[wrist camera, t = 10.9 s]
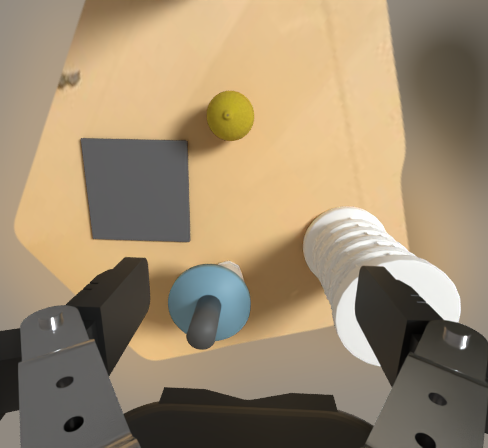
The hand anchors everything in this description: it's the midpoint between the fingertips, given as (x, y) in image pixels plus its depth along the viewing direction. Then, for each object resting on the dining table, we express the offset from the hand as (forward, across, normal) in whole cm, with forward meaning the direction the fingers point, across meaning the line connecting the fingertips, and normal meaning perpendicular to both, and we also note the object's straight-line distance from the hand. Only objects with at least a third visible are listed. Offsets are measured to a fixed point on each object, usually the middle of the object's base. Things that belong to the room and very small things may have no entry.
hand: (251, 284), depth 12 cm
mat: (+32, +16, +3) cm, 36 cm away
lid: (+24, +5, +15) cm, 29 cm away
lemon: (+32, +3, -7) cm, 33 cm away
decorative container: (+32, -13, +10) cm, 36 cm away
